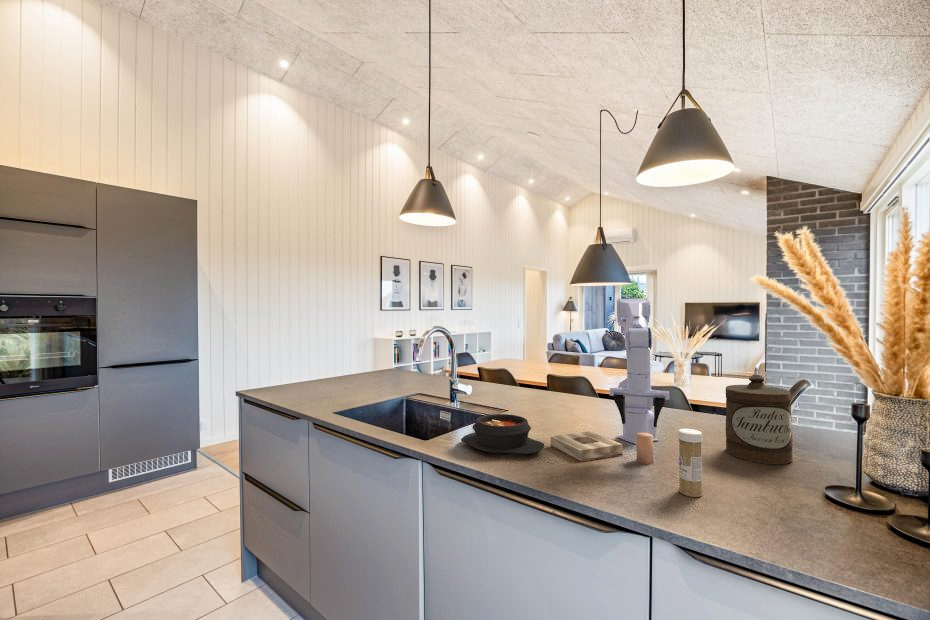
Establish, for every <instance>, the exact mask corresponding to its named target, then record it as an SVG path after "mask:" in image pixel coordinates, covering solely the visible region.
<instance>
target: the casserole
mask: <svg viewBox="0 0 930 620" xmlns="http://www.w3.org/2000/svg"><path fill="white" fill-rule="evenodd" d="M472 429H473V431H474V432H471V433H468V434H465V435H464V436H463V437H461V439H460V440H461V442H462V443H464V444H467V445H470V446H471V447H473V448H475V449H477V450H479V451H483V452H487V453H490V454H493V453H494V454H495V455H512V454H516V455H517V454H519V455H529V454H535V453H537V452H539V451H542V450H543V449H544V448H545V443H544V442H542V441H539V440H537V439H533V438H531V437H529V433H530V431H531V430H532V427H531V425H529V421H528V419H527V418H525V417H523V416H519V415H515V414H509V413H508V414H507V413H506V414H505V413H497V414H496V413H493V414H486V415H481V416H478V417H477V418H476V419H475V423H474V424H473V425H472Z"/></svg>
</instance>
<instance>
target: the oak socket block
mask: <svg viewBox="0 0 930 620" xmlns="http://www.w3.org/2000/svg"><path fill="white" fill-rule="evenodd" d="M552 447H553V448H552ZM550 448H552V449H554V448H555V449H554V450H556V449H557V451H558V452H561V453H562V454H564V455H566V456H568V457H570V458H571V459H573V460H575V461H577V462H579V463H582V462H589V461H594V460H601V459H607V458H613V457H621V456H623V455H624V454H623V453H624V452H623V444H622V443H621V442H620V443H619V442H618V441H615V440H613V439H610V438H609V437H605V436H604V435H600V434H597V433H595V432H593V431H582V432H573V433H564V434H559V435H552V436H551V435H550Z"/></svg>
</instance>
